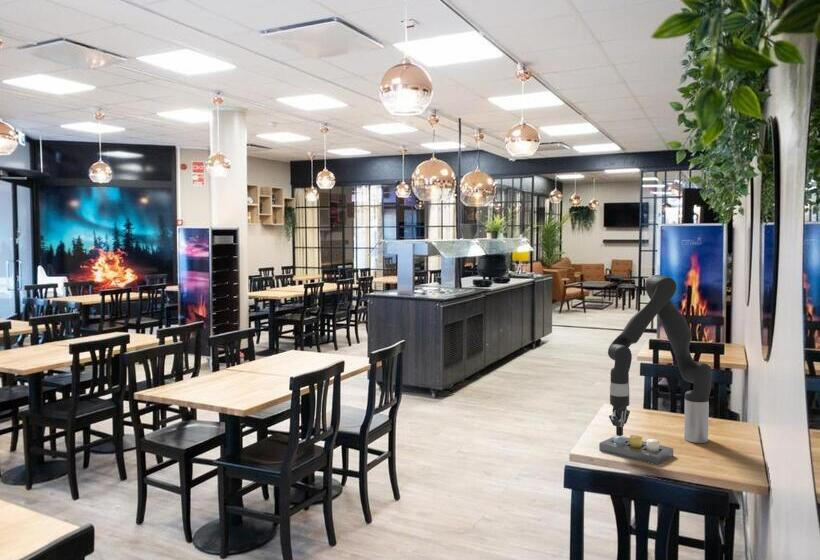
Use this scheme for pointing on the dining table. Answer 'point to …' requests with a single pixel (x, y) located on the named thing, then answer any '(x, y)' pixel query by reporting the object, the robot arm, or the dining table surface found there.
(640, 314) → the robot arm
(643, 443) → the panel
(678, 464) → the dining table surface
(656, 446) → the button ivory
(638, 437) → the button mustard
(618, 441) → the button blue
